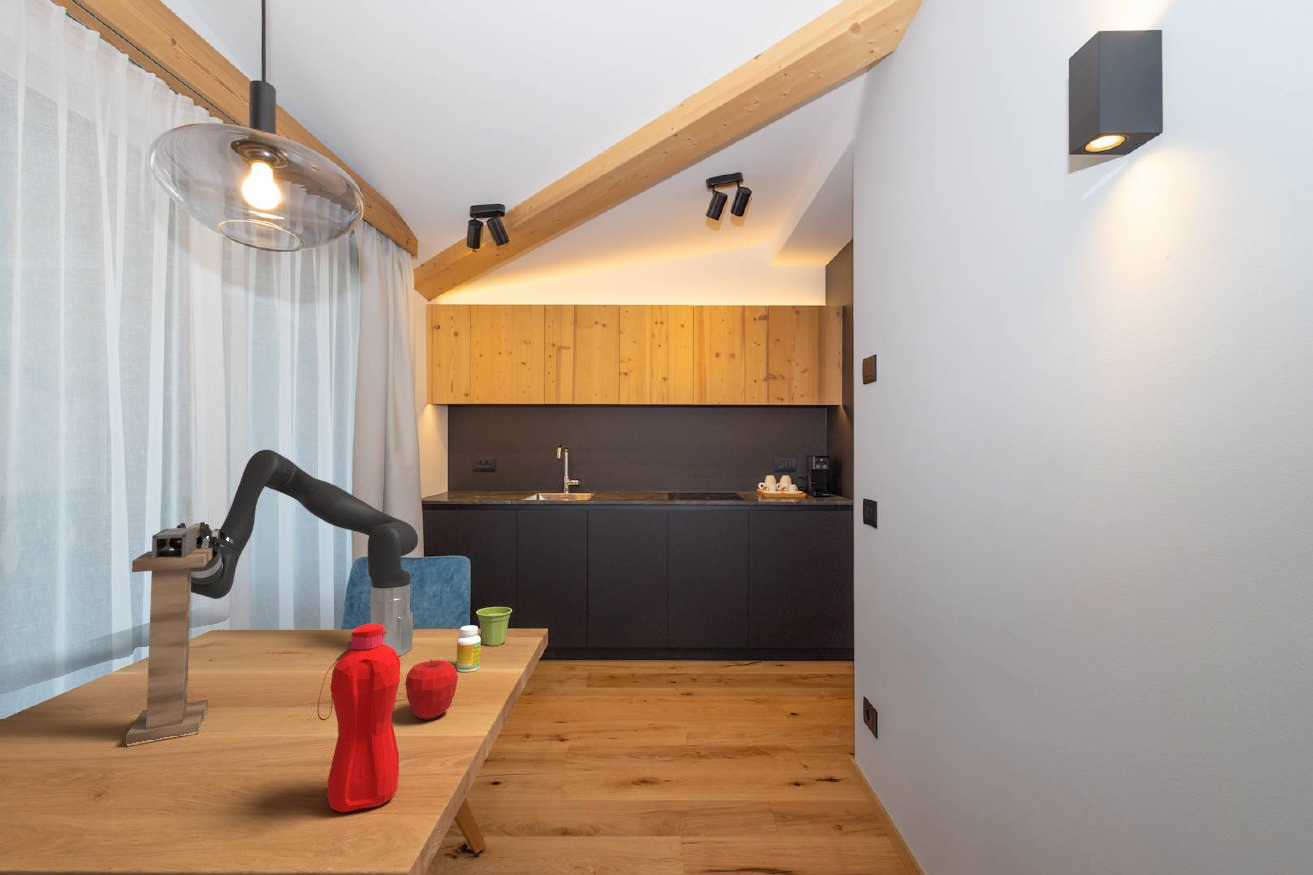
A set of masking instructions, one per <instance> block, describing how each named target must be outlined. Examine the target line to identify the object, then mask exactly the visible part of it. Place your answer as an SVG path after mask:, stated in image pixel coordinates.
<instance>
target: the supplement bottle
mask: <svg viewBox="0 0 1313 875" xmlns="http://www.w3.org/2000/svg"><path fill="white" fill-rule="evenodd" d="M459 631H460V633H459V634H460V636H459V637H458V638H457V640H456V671H458V672H460V673H471V672H475V671H478V670H479V669H480V668H481V657H482V656H481V651H482V650H481V644H482V637H481V636H480V635H478V633H479V627H478V626H477V625H472V624H471V625H463V626H461V627H460V628H459Z"/></svg>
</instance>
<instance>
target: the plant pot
mask: <svg viewBox="0 0 1313 875" xmlns="http://www.w3.org/2000/svg"><path fill="white" fill-rule="evenodd" d="M512 612H513V610H512V608H510V607H506V606H505V607H504V606H491V607H485V608H480V609H477V611H476V612H475V613H476V615H477V618H478V619H477V620H478V622H479V629H480V635H481V636H480V638H481V644H482V645H483V646H490V647H494V646H500V645H502V644H505V643H506V640H507V634H508V626H509V619H510V617H511V613H512Z"/></svg>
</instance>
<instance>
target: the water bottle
mask: <svg viewBox="0 0 1313 875" xmlns="http://www.w3.org/2000/svg"><path fill="white" fill-rule="evenodd" d="M385 633H387V631H384V628H383V625H380V624H371V623H365V624H362V625H359V626H358V627H355V628H353V629H352V631H351V641H347V644H346V645H347V646H346V650H344V652H342V653H341V654H340V655H338V657H336V660H335V661H334V662H333V664H332V665H331V666H330V667H329V668H328V670H327V672H326V674H325V677H324V680H323V683H322V684H321V688H320V692H319V696H318V703H317V715H318V718H319V719H320V720H321V721H327V720H328V719H329V718H330V717H331V714H332V711H333V707H334V712H335V717H336V720H337V735H338V736H337V739H336V743H335V744H336V745H335V749H334V752H333V753H334V754H333V757H332V761H331V764H330V765H331V766H330V769H329V774H328V778H327V780H328V781H327V792H326V793H327V794H326V795H327V796H326V797H327V799H328V804H329V807H330V809H332V810H334V811H337V812H338V813H342V814H343V813H348V812H352V811H358V810H363V809H370V808H374V807H375V808H376V807H381V806H382V805H384V804H385V803H387V802H389V801H390V800H392V798H393V797H394V796H395V794H396V793H397V790H398V788H399V778H400V777H399V776H400V756H399V755H400V754H399V748H398V744H397V740H396V735H395V729H394V725H393V715H394V710H395V704H396V700H397V699H396V698H397V694H398V689H399V685H400V681H401V660H400V659H401V658H400V656H398V654H397V653H396V651H395V649H394V648H392V647H390V646H388V645H386V644H383V634H385ZM333 666H334V667H333ZM331 668H333V670H332V673H331V680H330V692H331V695H330V696H331V699H332V701H331V704H330V705H331V708H330V713H329V715H328V717H326V718H322V717H321V716H320V710H319V709H320V708H319V706H320V699H321V695H322V690H323V687H324V683H325V681H326V677H327V675H328V673H329V671H330V670H331Z"/></svg>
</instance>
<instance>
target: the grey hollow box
mask: <svg viewBox="0 0 1313 875" xmlns="http://www.w3.org/2000/svg"><path fill="white" fill-rule="evenodd" d="M170 538H182V558H184V557H187V556H188V555H189V554H190V553H192V552H193V551H194V550H195V549H196V541H197V527H196V528H189V527H186V528H177V527H176V528H175V527H174V528H164V529H163V530H161V531H158V532H157V533H155V534H152V540H151V551H152V559H157V558H159V557H160V556H162V555H163V554H164V553H166V552H167V551H169V541H170Z"/></svg>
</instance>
